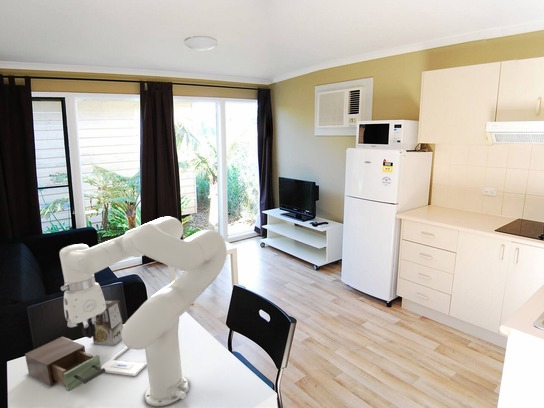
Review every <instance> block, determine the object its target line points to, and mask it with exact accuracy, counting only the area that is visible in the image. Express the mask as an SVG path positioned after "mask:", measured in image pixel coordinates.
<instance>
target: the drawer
mask: <svg viewBox="0 0 544 408" xmlns="http://www.w3.org/2000/svg"><path fill="white" fill-rule="evenodd" d="M85 352H86V351H85ZM85 352H83V351H81V350H79V351H78V352H76V353H74V354H72V355H70V356H68V357H66V358H64V359H62V360H60V361H58V362H56V363H54V364H52V365H50V369H51V374H52V379H53V380H54V381H56V382H58V383H57V384H60V385H62V386H63V387H65V390H66V391H67V392H70V391H72V390H74V389H75V388H77V387H79V386H80V385H82V384H83V385H86V384H87V383H89V382H91V381H92V380H94V379H96V378H97V377H99V376H100V375H102V374H105V373H106V372H105V369H104V368H102V369H101V366H102V365H101V360H100V355H98V354H96V355H95V356H93V355H92V354H90V353H87V352H86V353H85Z"/></svg>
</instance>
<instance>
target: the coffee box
mask: <svg viewBox="0 0 544 408" xmlns="http://www.w3.org/2000/svg"><path fill="white" fill-rule="evenodd" d="M105 303H106V310H105V312H104V313H102V314H101V315H99V317H98V318H97V320H96V323H95V329H96V332H95V336H94V337H93V336H92V341H93V344H94V345H104V346H105V345H106V346H115V345H117V344H118V343H119V342H120V341H122V336H121V333H122V328H123V326H124V324H123V316H122V309H121V302H120V300H105Z"/></svg>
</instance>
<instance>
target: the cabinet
mask: <svg viewBox="0 0 544 408" xmlns="http://www.w3.org/2000/svg"><path fill="white" fill-rule="evenodd" d="M79 350H81V351H83V352H85V353H87V352H86V346H85V345H84V344H81V343H79V342H77V341H74V340H72V339H70V338H67V337H65V336H61V337H58V338H56V339H54V340H52V341H50V342H48V343H45V344H43V345H41V346H38V347H37V348H35V349H32V350H30V351H28V352H26V353H24V356H25V362H26V367H27V371H28V375H29V376H31V377H33V378H34V379H36V380H39V381H40V382H41V383H44V384H45V385H47V386H49V387H53V386H54V385H56V384H59V383H58V382H56V381H54V380H53V379H52V374H51V369H50V365H52V364H54V363H56V362H58V361H60V360H62V359H64V358H66V357H68V356H70V355H72V354H74V353H76V352H78V351H79Z"/></svg>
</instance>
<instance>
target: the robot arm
mask: <svg viewBox="0 0 544 408" xmlns="http://www.w3.org/2000/svg"><path fill="white" fill-rule="evenodd" d="M183 233H184V226H183V223H182V222H181V221H180V220H179V219H178V218H176V217H172V216H164V217H163V216H162V217H159V218H157V219H154V220H152V221H149V222H147V223H144V224H142V225H139V226H137V227H134V228H132V229H129V230H127V231H125V232H124V234H122V235H120V236H117V237H115V238H112V239H110V240H107V241H104V242H102V243H99V244H96V245H93V246H91V247H90V246H89V245H87V244H84V243H78V244H70V245H67V246H65V247H62V248H61V249H60V250H59V259H60V264H61V270H62V275H63V280H64V281H63V284H64V285H62V286H61V287H60V290H61V291H62V292H64V293H63V311H64V317H65V320H66V321H67V324H66V326H67V327H68V328H75V327H81V330H82V335H83V337H85V338H88V339H91V338H92V339H93V337H94V336H95V332H96V329H95V323H96V320H97V318H98V317H99V315H101V314H102V313H104V312H105V310H106V303H105V296H104V293H103V290H102V288H101V285H100V284H99V282H96V278H95V274H97V273H99V272H101V271H103V270H105V269H107V268H108V267H110V266H113V265H115V264H117V263H119V262H121V261H124V260H127V259H128V258H131V257H134V258H140V257H144V256H146V257H148V258H149V259H151V260H153V261H156V262H158V263H162V264H164V265H166V266H168V267H170V268H173V269H175V270H178V271H182V272H181V273H180V274H179V275H178V276H177V277H176V278H175V279H174V280H173V281H172V282H171V283H169V284H167V285H166V286H164V287H163V288H161V289H160V290H158V291H157V292H155V293H154V294H152V295H151V296H150V297H149V298H147V299H146V300H145V301H144V302H143V303H142V304H141V305H140V306H139V308H137V310H136V311H134V312H133V314H132V315H131V316H130V317H129V318H128V319H127V320H126V321H125V322H124V324H123V328H122V333H121V336H122V339H121V341H122V342H123V344H124V345H125V347H126V346H127V347H129V348H128V349H131V350H137V351H139V350H144V352H145V362H146V361H147V365H146V368H147V369H146V370H147V375H148V384H149V387H148V388H147V390H146V391H145V394H144V398H145V403H147V404H148V405H150V406H153V407H163V406H168V405H170V404H173V403H175V402H177V401H178V400H179V399H181V400H184V399H186V397H187V392H189V390H190V386H189V381H188V379H187V377H184V376H183V372H182V362H181V351H180V341H179V324H180V317H181V316H183V314H185V313H186V312H187V311H188V310H189V309H190V308H191V306H192V305H193V304H194V302H195V301H196V300H197V299H198V298H199V297H200V296H201V295H202V294H203V293H204V292H205V291H206V290H207V289H208V287H210V285H211V284H212V283H213V282H214V281H215V280H216V279H217V277H218V276H219V274H220V273H221V271H222V270H223V268H224V266H225V263H226V259H227V254H228V253H227V245H226V241H225V239H224V237H223V235H222V234H221V233H220V232H219V231H217V230H214V229H204V230H201V231H197V232H195V233H193V234H192V235H189V236H188V237H186V238H184V239H181V238H182V236H183Z"/></svg>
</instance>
